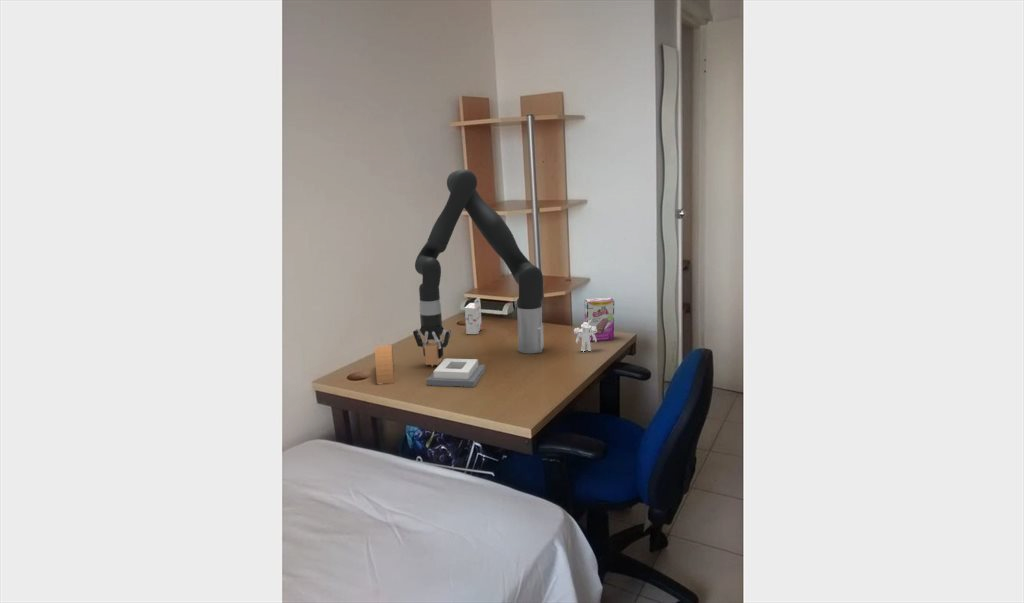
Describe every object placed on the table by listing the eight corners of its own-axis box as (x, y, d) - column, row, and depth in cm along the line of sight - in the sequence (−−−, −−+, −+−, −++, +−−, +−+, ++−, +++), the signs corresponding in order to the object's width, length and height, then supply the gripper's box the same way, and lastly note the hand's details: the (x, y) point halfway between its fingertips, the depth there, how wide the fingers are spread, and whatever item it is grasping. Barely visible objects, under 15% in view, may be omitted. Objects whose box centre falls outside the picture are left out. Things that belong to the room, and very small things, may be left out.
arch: (394, 364, 234) (392, 338, 231) (394, 383, 215) (391, 355, 212) (378, 365, 233) (375, 339, 230) (376, 385, 214) (373, 356, 211)
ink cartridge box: (470, 329, 275) (469, 295, 271) (482, 329, 274) (480, 295, 270) (465, 334, 267) (463, 300, 263) (477, 335, 266) (475, 300, 262)
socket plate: (485, 370, 223) (484, 358, 222) (473, 387, 208) (473, 374, 207) (441, 368, 227) (440, 356, 226) (426, 385, 211) (426, 372, 210)
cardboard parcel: (442, 362, 233) (441, 341, 232) (437, 367, 228) (436, 346, 226) (430, 362, 234) (429, 341, 232) (425, 367, 229) (424, 345, 227)
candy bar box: (587, 342, 251) (586, 301, 247) (583, 338, 256) (583, 298, 252) (614, 340, 252) (614, 299, 249) (611, 336, 257) (611, 297, 253)
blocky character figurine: (595, 348, 243) (595, 317, 241) (599, 351, 240) (598, 320, 237) (572, 350, 242) (572, 320, 239) (576, 353, 238) (575, 322, 235)
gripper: (452, 309, 229) (455, 354, 233) (415, 308, 231) (418, 353, 236) (446, 314, 221) (449, 361, 226) (407, 314, 224) (411, 360, 228)
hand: (433, 357), depth 231 cm, fingers closed on cardboard parcel, 4 cm apart
